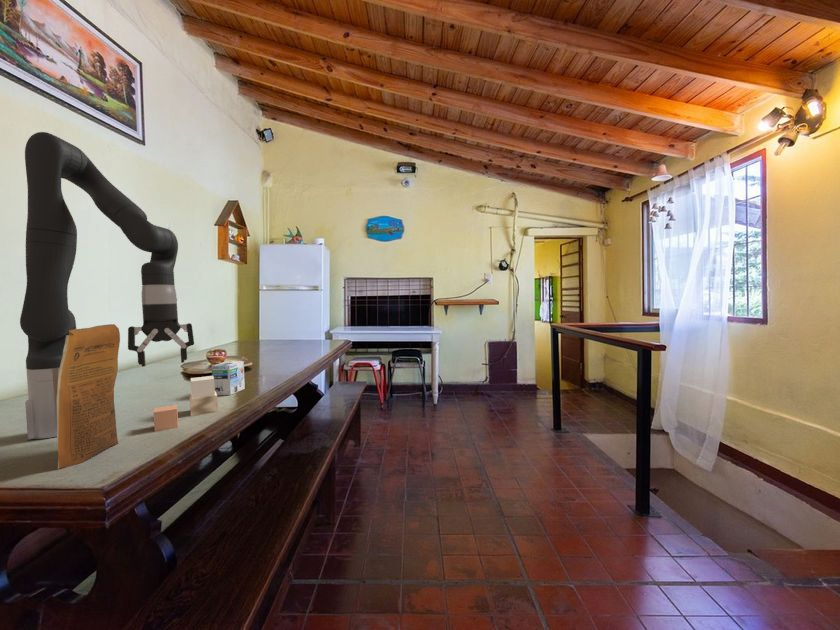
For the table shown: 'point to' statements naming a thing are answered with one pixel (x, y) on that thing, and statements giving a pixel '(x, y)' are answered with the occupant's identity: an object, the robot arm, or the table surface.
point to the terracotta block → (165, 418)
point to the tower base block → (203, 405)
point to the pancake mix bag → (87, 394)
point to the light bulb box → (228, 377)
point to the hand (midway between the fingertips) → (163, 364)
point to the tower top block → (202, 387)
